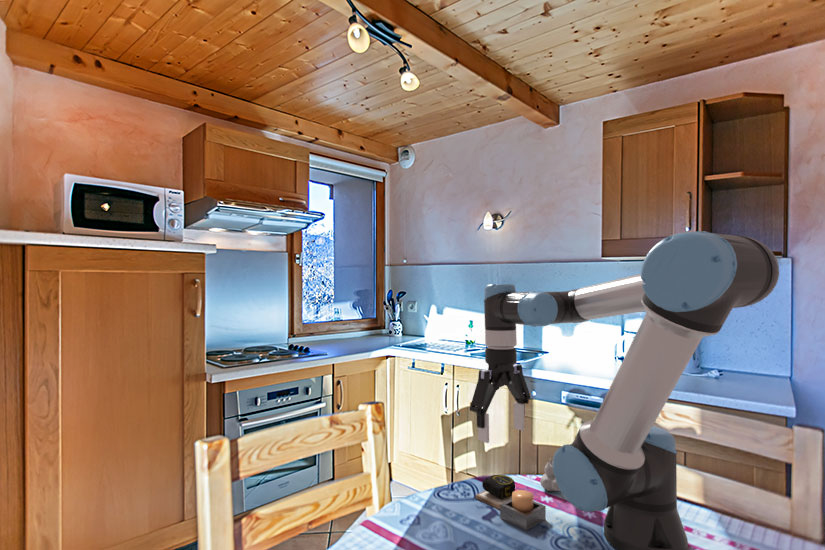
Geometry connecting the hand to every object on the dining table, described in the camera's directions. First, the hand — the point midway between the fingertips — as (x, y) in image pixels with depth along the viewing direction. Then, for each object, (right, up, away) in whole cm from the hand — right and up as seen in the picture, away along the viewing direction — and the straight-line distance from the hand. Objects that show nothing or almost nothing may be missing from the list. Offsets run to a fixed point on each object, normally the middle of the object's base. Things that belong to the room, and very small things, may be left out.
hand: (502, 435), depth 112 cm
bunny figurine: (+13, -16, +4) cm, 21 cm away
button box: (+3, -15, -9) cm, 18 cm away
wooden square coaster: (0, -15, 0) cm, 15 cm away
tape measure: (-1, -15, 0) cm, 15 cm away
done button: (+3, -13, -9) cm, 16 cm away
